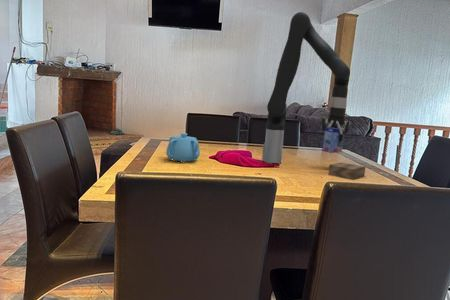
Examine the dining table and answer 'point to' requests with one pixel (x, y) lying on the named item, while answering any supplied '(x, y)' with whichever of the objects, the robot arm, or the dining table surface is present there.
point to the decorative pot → (183, 148)
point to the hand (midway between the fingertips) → (333, 140)
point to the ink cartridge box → (332, 140)
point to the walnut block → (346, 171)
